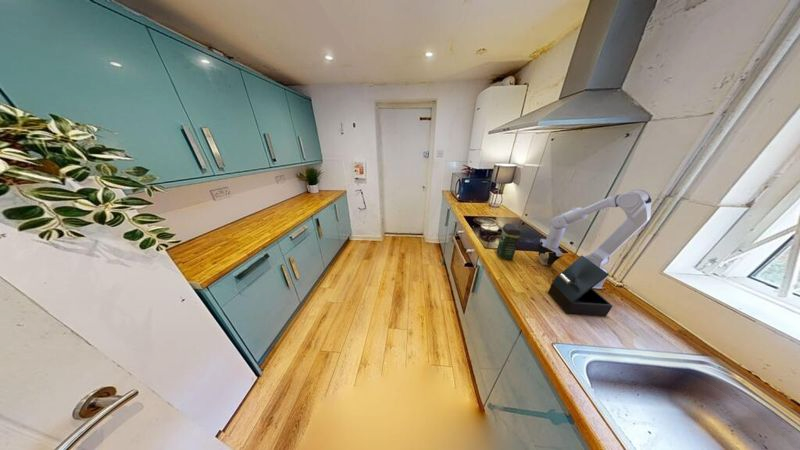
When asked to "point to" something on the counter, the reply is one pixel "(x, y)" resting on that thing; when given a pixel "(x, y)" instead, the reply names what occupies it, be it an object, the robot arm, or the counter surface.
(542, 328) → the counter surface
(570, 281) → the caddy lid
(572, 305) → the block
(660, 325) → the counter surface
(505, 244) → the coffee jar
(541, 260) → the scrap block
